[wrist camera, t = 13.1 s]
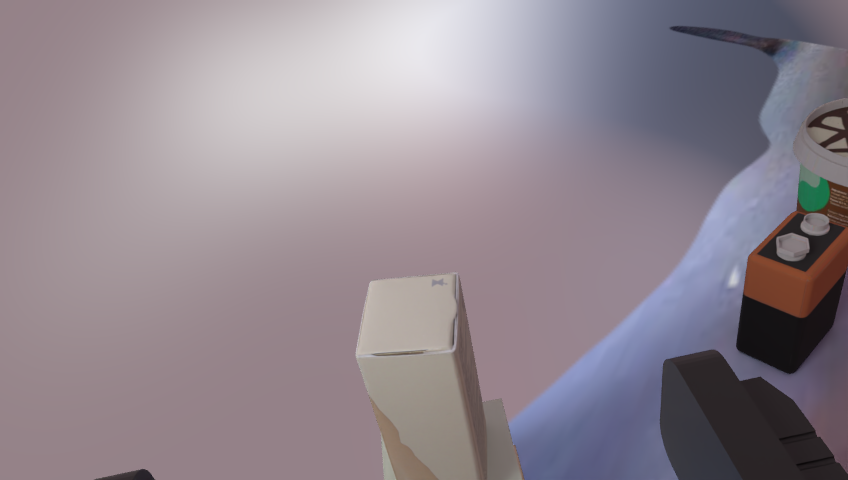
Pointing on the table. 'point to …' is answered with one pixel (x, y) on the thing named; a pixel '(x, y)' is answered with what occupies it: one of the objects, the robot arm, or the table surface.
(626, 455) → the table surface
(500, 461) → the tower top
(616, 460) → the table surface
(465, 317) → the box
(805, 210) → the food container
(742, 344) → the battery
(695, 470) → the robot arm
